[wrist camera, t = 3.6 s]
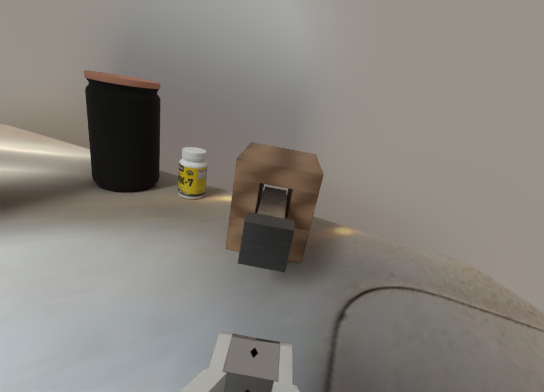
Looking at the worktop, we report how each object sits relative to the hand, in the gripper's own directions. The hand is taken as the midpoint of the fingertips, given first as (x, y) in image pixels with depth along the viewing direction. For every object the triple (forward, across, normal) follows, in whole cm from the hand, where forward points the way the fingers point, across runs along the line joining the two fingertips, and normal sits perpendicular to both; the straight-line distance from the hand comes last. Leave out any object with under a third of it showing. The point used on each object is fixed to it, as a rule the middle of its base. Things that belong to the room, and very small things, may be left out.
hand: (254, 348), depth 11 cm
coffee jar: (+36, +27, +10) cm, 47 cm away
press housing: (+27, 0, +10) cm, 29 cm away
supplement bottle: (+36, +16, +10) cm, 41 cm away
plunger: (+18, 0, +5) cm, 19 cm away
